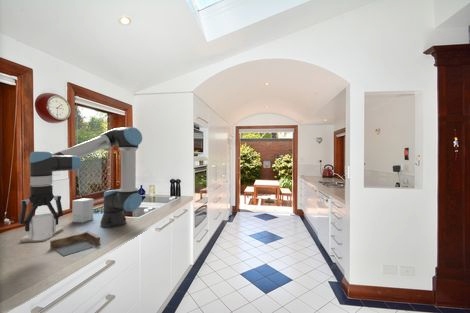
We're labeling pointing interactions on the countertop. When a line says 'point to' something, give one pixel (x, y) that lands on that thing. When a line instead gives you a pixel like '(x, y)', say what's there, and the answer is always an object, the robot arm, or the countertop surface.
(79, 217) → the supplement box
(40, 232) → the white cup
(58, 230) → the washcloth
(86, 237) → the corner walls
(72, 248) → the mat
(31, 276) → the countertop surface
